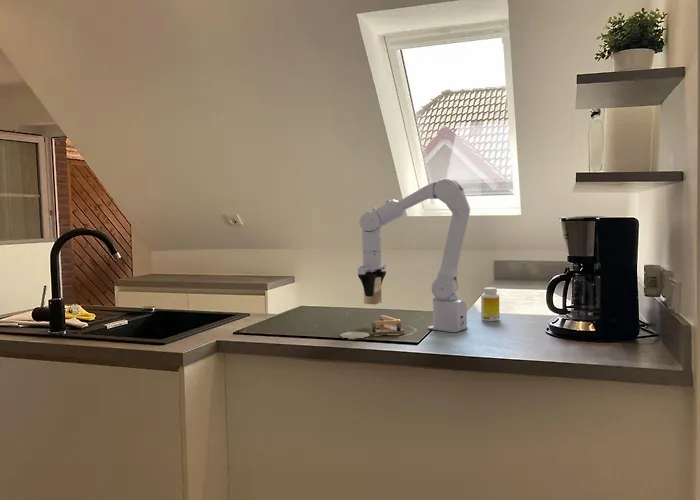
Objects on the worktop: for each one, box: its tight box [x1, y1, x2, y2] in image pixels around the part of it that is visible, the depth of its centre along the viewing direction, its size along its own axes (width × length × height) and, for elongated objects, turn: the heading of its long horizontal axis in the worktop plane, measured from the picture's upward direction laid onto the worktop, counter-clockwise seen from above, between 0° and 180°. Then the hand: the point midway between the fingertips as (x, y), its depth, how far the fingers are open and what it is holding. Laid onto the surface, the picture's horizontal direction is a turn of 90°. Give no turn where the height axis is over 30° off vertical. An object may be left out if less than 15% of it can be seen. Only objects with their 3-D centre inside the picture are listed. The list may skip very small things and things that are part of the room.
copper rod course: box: [370, 314, 405, 336], centre depth 170 cm, size 12×12×4 cm
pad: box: [339, 331, 370, 340], centre depth 166 cm, size 8×8×1 cm
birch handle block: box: [363, 277, 383, 305], centre depth 180 cm, size 4×4×8 cm
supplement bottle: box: [480, 286, 500, 322], centre depth 185 cm, size 6×6×10 cm
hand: (372, 295), depth 180 cm, fingers closed on birch handle block, 4 cm apart
